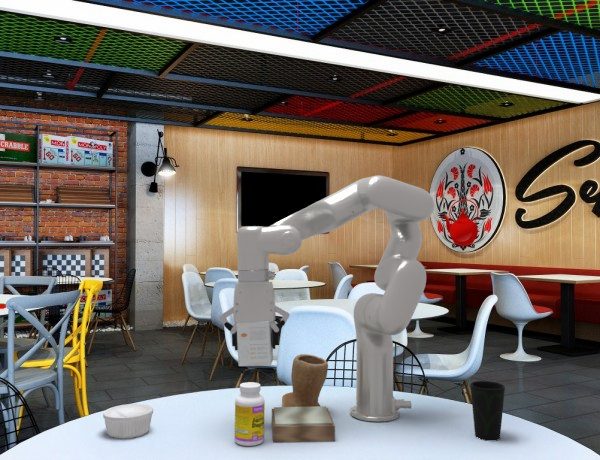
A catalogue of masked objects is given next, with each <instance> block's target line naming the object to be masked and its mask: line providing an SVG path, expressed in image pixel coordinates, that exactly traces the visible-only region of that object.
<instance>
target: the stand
mask: <svg viewBox="0 0 600 460" xmlns="http://www.w3.org/2000/svg"><path fill="white" fill-rule="evenodd" d="M271 430H272V431H271V434H272V443H306V442H307V443H308V442H309V443H314V442H315V443H317V442H335V441H336V425H335V422H334V420H333V418H332V416H331V412H330V410H329V408H328V407H327V406H326V405H325V406H323V405H322V406H321V405H320V407H283V406H275V407H273V408H271Z"/></svg>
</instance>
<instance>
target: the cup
mask: <svg viewBox="0 0 600 460" xmlns="http://www.w3.org/2000/svg"><path fill="white" fill-rule="evenodd" d="M469 386H470V394H471V395H470V396H471V406H472V416H473V426H474V436H475V438H477V437H478V438H477V439H479V438H480V439H479V440H482V439H485V440H484V441H487V440H496V441H498V440H497V439H499V438H500V439H501V432H502V421H503V411H504V410H503V409H504V401H505V399H504V398H505V390H506V386H505V385H504V384H502V383H500V382H495V381H490V380H489V381H487V380H478V381H473V382H470V385H469ZM500 439H499V440H500Z"/></svg>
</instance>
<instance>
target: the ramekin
mask: <svg viewBox="0 0 600 460" xmlns="http://www.w3.org/2000/svg"><path fill="white" fill-rule="evenodd" d="M153 414H154V408H153V407H152V406H150V405H148V404H145V403H143V404H142V403H128V404H121V405H116V406H112V407H110V408H107V409H106V410H104V412H103V413H102V415H103V419H104V424H105V429H106V433H107V434H108V436H109V437H111V438H113V437H114V439H123V440H125V439H133V438H137V437H140V436H143V435H145V434H146V433H148V431H149V430H150V428H151V422H152V416H153Z"/></svg>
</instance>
